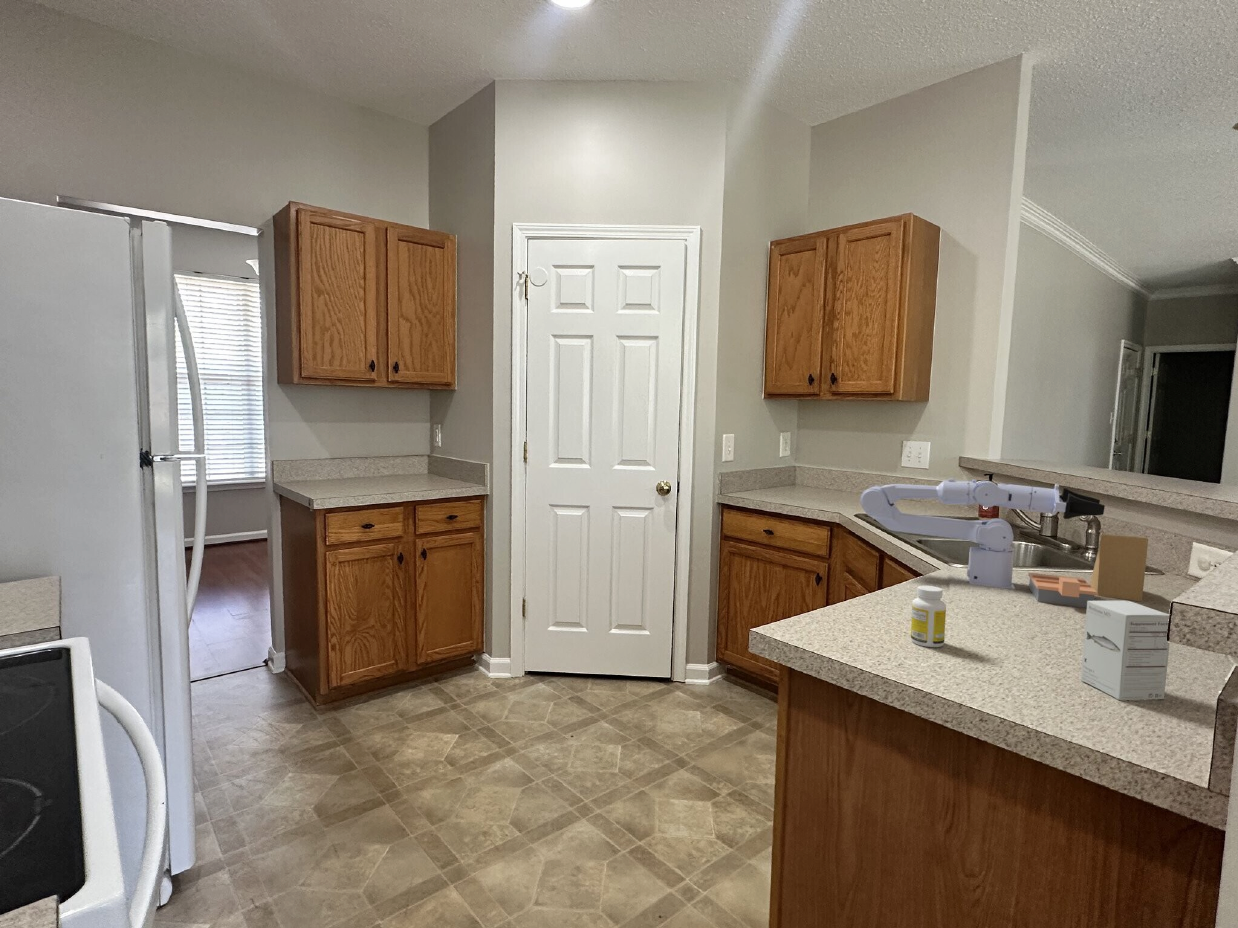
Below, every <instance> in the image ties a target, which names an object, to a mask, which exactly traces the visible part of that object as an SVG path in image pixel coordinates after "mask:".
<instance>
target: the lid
mask: <svg viewBox="0 0 1238 928" xmlns="http://www.w3.org/2000/svg"><path fill="white" fill-rule="evenodd" d="M1027 574H1028V575H1027V576H1028V578H1029V580H1030V579H1031V580H1032V582H1033V583H1034V584H1035V586H1036V587H1037V589H1045V590H1054V591H1059V593H1060V594H1061V595H1062V596H1071V597H1079V593H1080V594H1089V595H1094V596H1097V592H1096V591H1095V590H1094V589H1093V588H1092V587H1091V584H1090V583H1088V582H1087V581H1086V580H1085V579H1084V578H1083V577H1074V576H1065V575H1055V574H1046V573H1038V572H1037V573H1036V572H1028V573H1027Z"/></svg>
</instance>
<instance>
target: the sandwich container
mask: <svg viewBox="0 0 1238 928" xmlns="http://www.w3.org/2000/svg"><path fill="white" fill-rule="evenodd" d="M1148 544H1149V538H1148V537H1146V536H1136V535H1135V536H1134V535H1125V534H1124V535H1123V534H1110V533H1108V534H1107V533H1101V535H1100V540H1099V545H1098V550H1097V552H1096V553H1097V554H1096V557H1095V562H1094V565H1093V569H1092V573H1091V577H1090V580H1089V585H1091V587H1092V588H1093V589H1094V590H1095V591H1096V592H1097V595H1096V596H1098V597H1107V598H1112V599H1114V598H1115V599H1120V600H1127V601H1130V600H1131V601H1137V602H1142V601H1143V594H1144V586H1145V585H1144V584H1145V575H1146V567H1147V557H1148V556H1147V555H1148V546H1149V545H1148Z"/></svg>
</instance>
